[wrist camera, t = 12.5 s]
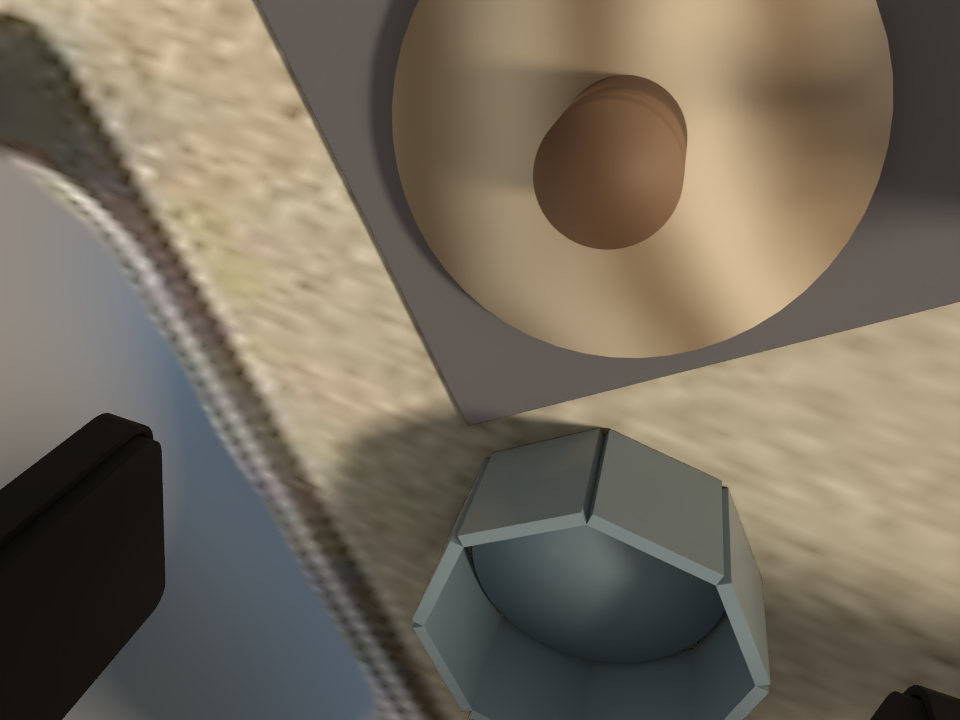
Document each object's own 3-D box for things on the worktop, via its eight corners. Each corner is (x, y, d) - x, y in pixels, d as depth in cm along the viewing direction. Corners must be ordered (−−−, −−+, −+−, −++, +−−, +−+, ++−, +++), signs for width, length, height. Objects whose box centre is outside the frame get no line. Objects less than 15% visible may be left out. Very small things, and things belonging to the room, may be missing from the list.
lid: (810, -266, 22) (844, -333, 17) (934, 271, 28) (988, 348, 22) (326, 1, 29) (240, 15, 23) (507, 388, 34) (471, 469, 29)
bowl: (697, 404, 33) (696, 490, 28) (786, 647, 38) (799, 759, 33) (413, 471, 38) (368, 552, 33) (522, 675, 43) (498, 773, 38)
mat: (891, -384, 21) (894, -389, 20) (1015, 282, 27) (1019, 286, 27) (256, -14, 29) (251, -13, 29) (470, 421, 36) (468, 426, 36)
